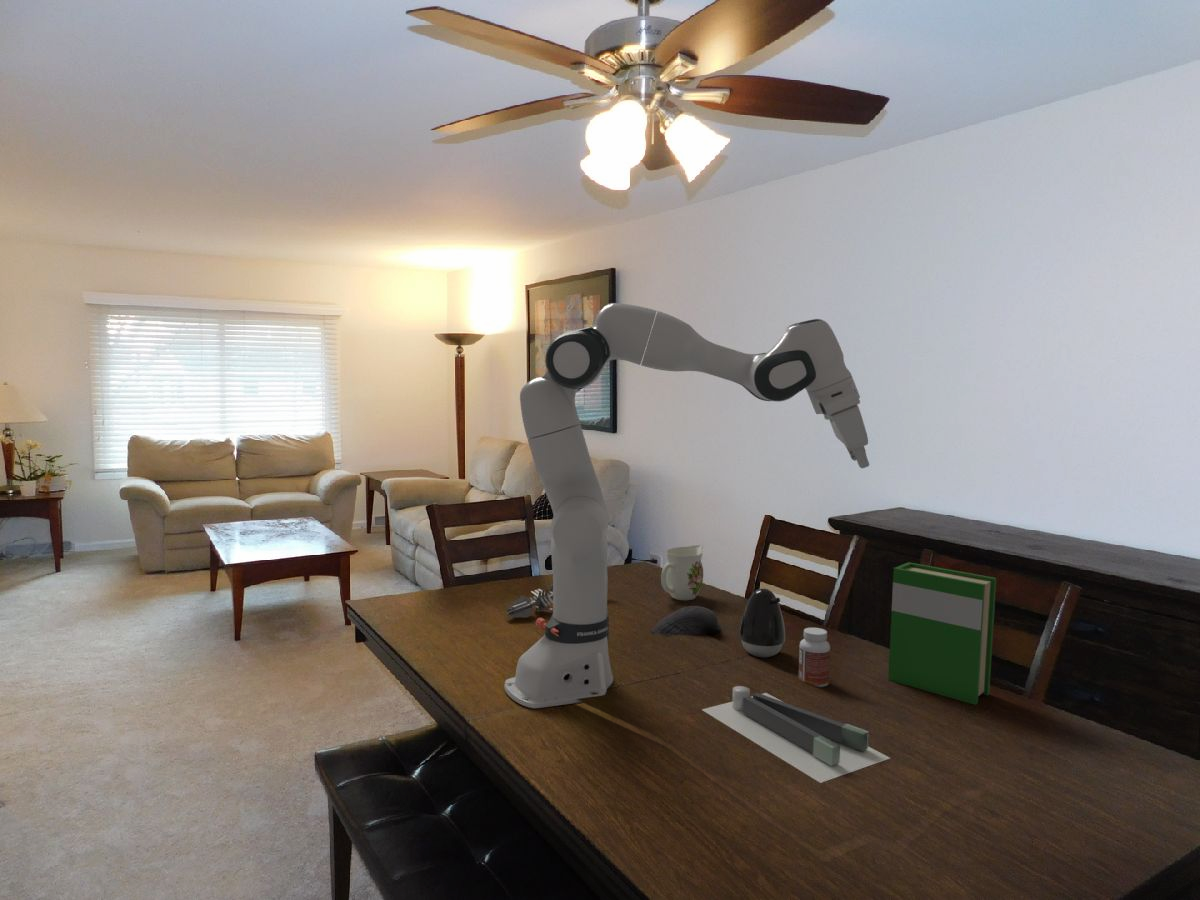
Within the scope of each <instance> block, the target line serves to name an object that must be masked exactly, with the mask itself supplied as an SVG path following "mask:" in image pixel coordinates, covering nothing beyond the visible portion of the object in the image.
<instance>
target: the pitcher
mask: <svg viewBox="0 0 1200 900" xmlns="http://www.w3.org/2000/svg"><path fill="white" fill-rule="evenodd" d="M703 548H704V546H703V545H701V544H699V545H698V544H697V545H690V546H680V547H679V546H678V547H673V548H670V549H667V550H666V551H665V552H666V558H667V561H666V563H665V564H664V566H663V567H662V570H661V574H660V584H661V587H662V589H663V590H664V591H665V592H666V593H669V594H670V596H671V598H672V599H674V600H676V601H677V600H678V601H690V600H694V599H696V597H697V596H698V595H699V592H701V588H702V585H703V581H704V567H703V563H702V559H703V558H702V556H703V554H704V553H703Z"/></svg>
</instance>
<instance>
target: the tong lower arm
mask: <svg viewBox="0 0 1200 900" xmlns="http://www.w3.org/2000/svg"><path fill="white" fill-rule="evenodd" d="M731 699H732V701H731V702H732V708H733V709H734V710H736V711H741V712H743V713H744V714H745V715H747V716H749V717H750V718H752V719H754V720H756V721H757V722H759V723H761V724H763V725H764V726H766V727H768V728H769V729H771V730H773V731H775V732H776V733H778V734H780V735H782V736H783V737H785V738H787V739H788V740H790V741H792V742H794V743H795V744H797V745H799V746H801V747H802V748H804V749H806V750H807V751H809V752H811V753H813V756H815V757H817V758H819V759H820V760H822V761H824V762H825V763H827V764H829V765H831V766H833V765H836V764H839V761H840V745H838V744H836V743H835V742H833V741H831V740H829V739H827V738H825V737H824V736H822V735H820V734H818V733H816V732H814V731H813V730H811V729H809V728H807V727H805V726H803V725H802V724H800V723H798V722H796V721H794V720H792V719H790V718H789V717H787V716H785V715H783V714H781V713H779V712H778V711H776V710H774V709H772V708H770V707H768V706H767V705H765V704H763V703H761V702H759V701H757V700H756V699H754V698H752V696H751V689H750V688H748V687H746V686H742V685H736V686H733V687H732V698H731Z"/></svg>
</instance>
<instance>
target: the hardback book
mask: <svg viewBox="0 0 1200 900" xmlns="http://www.w3.org/2000/svg"><path fill="white" fill-rule="evenodd" d="M996 589H997V577H994V576H988V575H987V576H986V575H981V574H976V573H970V572H965V571H959V570H954V569H949V568H943V567H942V568H941V567H938V566H937V567H936V566H931V565H925V564H921V563H920V564H919V563H914V562H910V561H909V562H908V561H907V562H906V563H903V564H901V565H898V566H896V567H893V575H892V594H891V595H892V596H891V616H890V617H891V618H890V636H889V637H890V638H889V640H890V641H889V657H888V659H889V660H888V676H887V677H888V678H887V679H888V681H891V682H896V683H898V684H902V685H905V686H908V687H911V688H915V689H919V690H922V691H925V692H929V693H933V694H937V695H938V696H939V695H940V696H943V697H945V698H946V697H947V698H949V699H950V698H951V699H954V700H957V701H960V702H964V703H968V704H971V705H974V706H977V705H978V704H979V696H981V695H985V696H989V695H990V687H991V685H990V684H991V673H992V672H991V670H992V654H993V653H992V652H993V637H994V622H995V610H996V609H995V607H996V591H997V590H996Z"/></svg>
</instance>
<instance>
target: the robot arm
mask: <svg viewBox="0 0 1200 900" xmlns="http://www.w3.org/2000/svg"><path fill="white" fill-rule="evenodd" d="M844 357H845V356H844V353H843V350H842V347H841V346H840V343H839V341H838V339H837V337H836V335H835V333H834V331H833V329H832V327H831V325H830V324H829V323H828V322H827V321H825V320H823V319H820V318H814V319H809V320H804V321H800V322H796V323H793V324H790V325H788V327H786V330H785V332H784V333H783V335H781V337H780V338H779V339H778V341H777V342H776V343H775V344H774V345H773V346H772V348H771V349H770V350H768V351H767V352H762V353H754V354H752V353H745V352H742V351H739V350H735V349H732V348H729V347H726V346H723V345H720V344H718V343H717V344H716V343H714V342H712V341H710V340H708V339H706V338H705V337H704V336H702V335H701V334H699V332H697V331H696V330H695V329H694V327H692V326H691V325H690V324H689V323H686V322H685V321H683V320H681V319H680V318H677V317H675V316H673V315H671V314H668V313H664V312H662V311H659V310H655V309H653V308H652V309H651V308H648V307H644V306H639V305H636V304H635V305H633V304H626V303H620V302H619V303H617V302H611V303H607V304H606V305H604V306H603V307H602V308H601V309H600V310H599V312H598V313H597V315H596V317H595V319H594V322H593V324H592V327H591V326H589V327H584V328H580V329H575V330H570V331H567V332H564V333H561V334H559V335H557V337H556V338H554V339H553V340H552V341H551V343H549V346H548V347H547V349H546V353H545V358H544V359H545V361H544V362H545V367H546V371H545V373H544V374H542V375H541V376H537V377H534V378H533V379H531V380H529V381H528V382H527V383H525V384H524V385H523V386H522V388H521V389H520V390H521V391H520V393H519V404H520V412H521V417H522V423H523V427H524V431H525V435H526V439H527V443H528V446H529V449H530V452H531V456H532V459H533V463H534V466H535V470H536V472H537V476H538V478H539V480H540V482H541V485H542V487H543V489H544V492H545V494H546V497H547V500H548V502H549V504H550V505H549V506H550V507H551V510H552V514H553V517H552V519H551V523H550V549H551V551H550V552H551V568H552V582H553V603H552V615H551V617H550V618H549V620H546V619H544V618H543V617H538V618H537V619H536V620H535V626H536V627H537V628H539V629H540V630H542V631H543V630H545V631H544V635H543V636H542V637H541V638H540V639H539V640H538V641H536V642H535V644H533V645H532V646H530V648H528V649H527V650H526V651H525V652H524V653H523V654H522V655H521V656H520V657H519V658H518V660H517V664H516V670H515V676H514V677H511V678H507V679H505V681H504V692H505V693H506V694H507V696H508V697H510V699H512V700H513V701H514V702H516V703H518V704H519V705H521V706H524V707H527V708H531V709H541V708H548V707H549V708H550V707H555V706H562V705H571V704H578V703H583V701H582V700H580V699H586V698H593V697H594V698H595V697H600V696H605V695H606V694H607V690H608V688H609V687H610V686H611V685H612V684H613V682H614V677H613V673H612V669H611V664H610V657H609V655H610V654H609V647H608V640H609V636H610V616H609V615H608V578H607V575H608V527H609V520H610V519H609V511H608V507H607V505H606V501H605V498H604V495H603V492H602V489H601V486H600V482H599V479H598V476H597V474H596V471H595V468H594V465H593V462H592V459H591V456H590V452H589V449H588V445H587V443H586V442H587V441H586V439H585V435H584V431H583V429H582V424H581V422H580V419H579V415H578V411H577V408H576V407H577V406H576V395H577V393H578V392H580V391H581V390H582V389H584V388H586V387H588V386H590V385H592V384H594V382H596V381H597V380H598V379H599V377H601V374H602V372H603V370H604V368H605V365H606V364H607V363H608V362H611V361H614V360H620V361H625V362H629V363H633V364H635V365H639V366H642V367H645V368H650V369H654V370H659V371H665V372H698V373H704V374H707V375H711V376H714V377H716V378H717V377H718V378H721V379H723V380H726V381H729V382H732V383H736V384H738V385H740V386H742V387H743V388H744V389H745V390H746V391H747V392H749V394H751V395H752V396H753V397H754V398H757V399H758V400H760V401H765V402H777V403H779V402H785V401H788V400H790V399H791V398H793V397H794V396H795V395H797V394H799V393H800V392H801V391H803V390H806V392H807V395H808V397H809V400H810V402H811V405H812V407H813V411H814V412H815V414H816V415H823V416H824V420H826V421H827V420H828V421H829V422H830V426H831V427H832V431H833V433H834V435H835V437H836V438H837V439H838V440H839V441H840V442H841V443H843V444H844V446H845V448H846V450H847V452H848V454H849V456H850V459H851V460H853V461H854V462H857V464H858V466H859V468H860V469H865V468H868V467H869V466H870V462H869V459H868V457H867V453H866V452H867V451H866V448H865V446H868V444H869V437H868V434H867V430H866V426H865V423H864V419H863V417H862V416H863V415H862V412H861V410H860V407H859V405H860V404H861V400H860V398H861V395H860V393H859V391H858V388H857V385H856V383H855V380H854V378H853V375H852V373H851V371H850V370H849V369H848V367H847V366H846V364H845V360H844Z"/></svg>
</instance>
